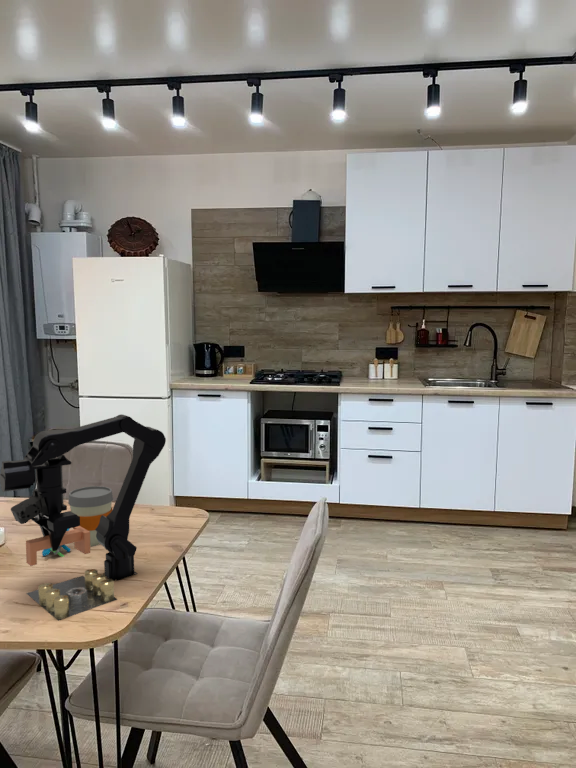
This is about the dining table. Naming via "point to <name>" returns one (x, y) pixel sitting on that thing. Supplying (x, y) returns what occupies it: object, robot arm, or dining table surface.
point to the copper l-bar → (77, 536)
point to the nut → (77, 595)
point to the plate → (56, 597)
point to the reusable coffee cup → (91, 507)
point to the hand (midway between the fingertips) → (52, 548)
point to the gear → (47, 551)
